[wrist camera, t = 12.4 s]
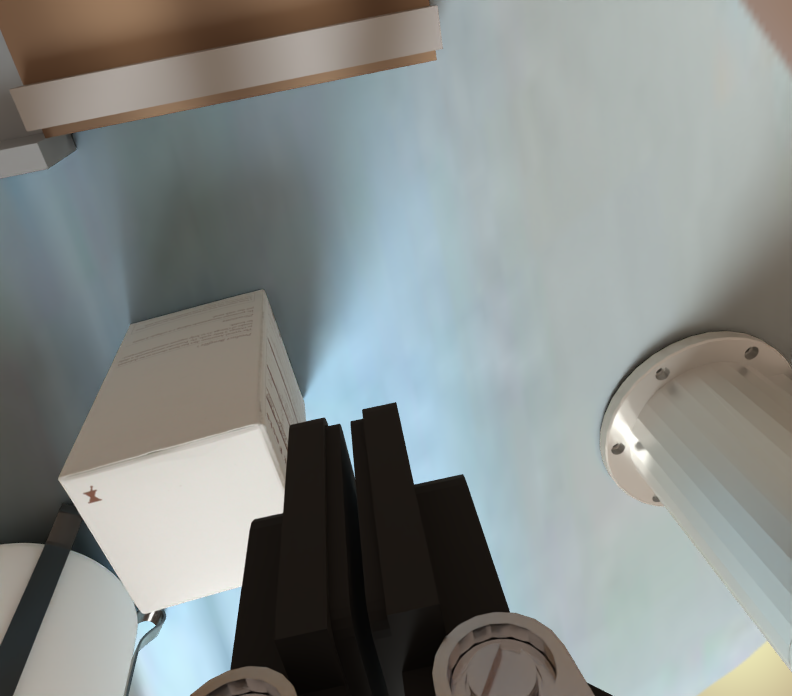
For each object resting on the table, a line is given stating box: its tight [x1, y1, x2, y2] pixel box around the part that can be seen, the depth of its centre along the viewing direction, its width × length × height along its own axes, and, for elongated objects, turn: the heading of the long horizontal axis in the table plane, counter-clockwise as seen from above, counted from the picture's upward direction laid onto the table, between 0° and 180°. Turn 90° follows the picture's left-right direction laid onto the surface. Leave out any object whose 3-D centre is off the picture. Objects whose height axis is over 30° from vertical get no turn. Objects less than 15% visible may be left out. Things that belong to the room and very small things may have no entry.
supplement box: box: [58, 289, 306, 614], centre depth 29 cm, size 7×7×13 cm
